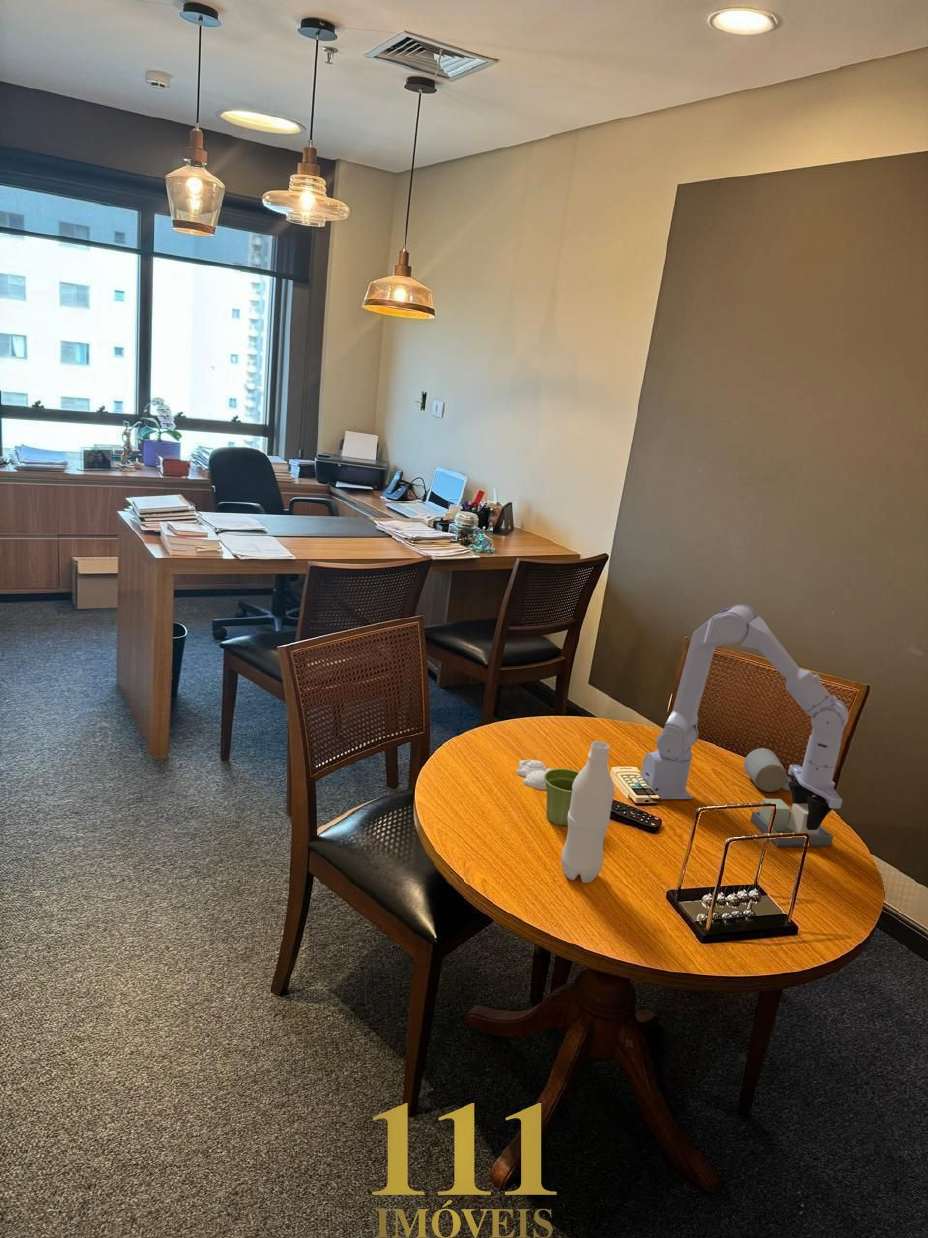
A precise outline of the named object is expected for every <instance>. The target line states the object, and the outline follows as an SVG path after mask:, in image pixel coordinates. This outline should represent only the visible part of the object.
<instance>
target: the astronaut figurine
mask: <svg viewBox="0 0 928 1238" xmlns="http://www.w3.org/2000/svg"><path fill="white" fill-rule="evenodd" d="M518 768H519V769H517V770H516V772H515V773H516V775H517V776H520V777H521V776H522V777H525V778H523V779H522V783H523V785H524V786H527V787H530V788H533V789H535V790H542V791H547V788H546V782H545V780H544V775H545V773H546V772H547V771H549V770H552V769H553V768H550V767H549V768H547V766H545V764H544V763H543V761H541V760H537V759H527V760H521V759H520V760H519V762H518Z"/></svg>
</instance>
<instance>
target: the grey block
mask: <svg viewBox="0 0 928 1238" xmlns="http://www.w3.org/2000/svg"><path fill="white" fill-rule="evenodd" d="M790 811H791V814H790V818H789V822H788V827H789V828H791V829H792V830H793V831H794V832H795V833H798V832H806V833H808V834H809V836H811V835H817V834H818V830H819V828H818V829H817V830H808V829H807V818H808V804H793V803H792V806H791V810H790Z"/></svg>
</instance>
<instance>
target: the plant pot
mask: <svg viewBox="0 0 928 1238" xmlns="http://www.w3.org/2000/svg"><path fill="white" fill-rule="evenodd" d="M551 769H552V770H549V771H547V772H546V773H545V775H544V780H545V782H546V788H547V790H546V809H545V810H546V813H545V814H546V818H547V820H548V821H549V822H550V823H552V824H553V825H554V824H555V825H557V826H566V827H568V812H569V810H570V803H571V797H572V785H573V782H574V780H575V778H576V776H577V775H578V774H579V772H580V771H577V770H574V769H569V768H554V769H553V768H551Z"/></svg>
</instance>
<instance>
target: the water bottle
mask: <svg viewBox="0 0 928 1238" xmlns="http://www.w3.org/2000/svg"><path fill="white" fill-rule="evenodd" d="M609 750H610V745H609V744H608V743H606V742H604V741H600V740H595V741H592V742H591V745H590V750H589V752H588V754H587V757H588V758H587V759H588V760H587V762H586V764H585V765H584V767H582V769H581V770H580V771H578V772H579V774H578V775H577V776H576V778H575V780H574V782H573V785H572V797H571V803H570V810H569V812H568V826H567V837H566V840H565V844H564V845H563V847H562V849H561V851H562V852H561V856H560V857H561V858H560V859H561V860H560V862H561V866H562V868H563V872H564V874H565V876H566V878H567V879H569V880H571V881H574V880H576V878H577V877H578V876H579V875H580V880H581V881H582V882H581V883H584V884H588V883H591V882H592V881H594V880H595V879H596V877H597V876H599V874H600V873H601V871H602V869H603V863H604V852H603V851H604V840H605V836H606V832H607V830H608V827H609V826H610V821H611V820H610V817H611V813H612V804H613V799H614V796H615V786H614V785H615V784H614V782H613V779H612V776H611V773H610V771H609V767H608V761H610V757H609V756H610V754H609V752H610V751H609Z"/></svg>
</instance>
